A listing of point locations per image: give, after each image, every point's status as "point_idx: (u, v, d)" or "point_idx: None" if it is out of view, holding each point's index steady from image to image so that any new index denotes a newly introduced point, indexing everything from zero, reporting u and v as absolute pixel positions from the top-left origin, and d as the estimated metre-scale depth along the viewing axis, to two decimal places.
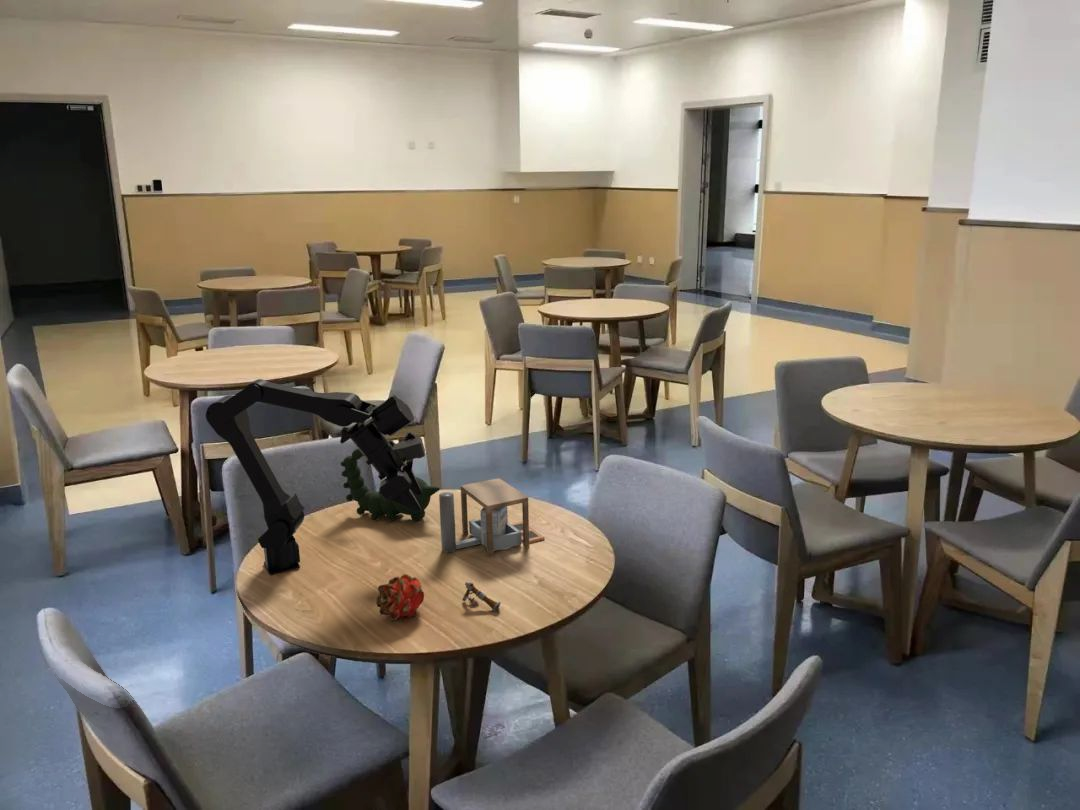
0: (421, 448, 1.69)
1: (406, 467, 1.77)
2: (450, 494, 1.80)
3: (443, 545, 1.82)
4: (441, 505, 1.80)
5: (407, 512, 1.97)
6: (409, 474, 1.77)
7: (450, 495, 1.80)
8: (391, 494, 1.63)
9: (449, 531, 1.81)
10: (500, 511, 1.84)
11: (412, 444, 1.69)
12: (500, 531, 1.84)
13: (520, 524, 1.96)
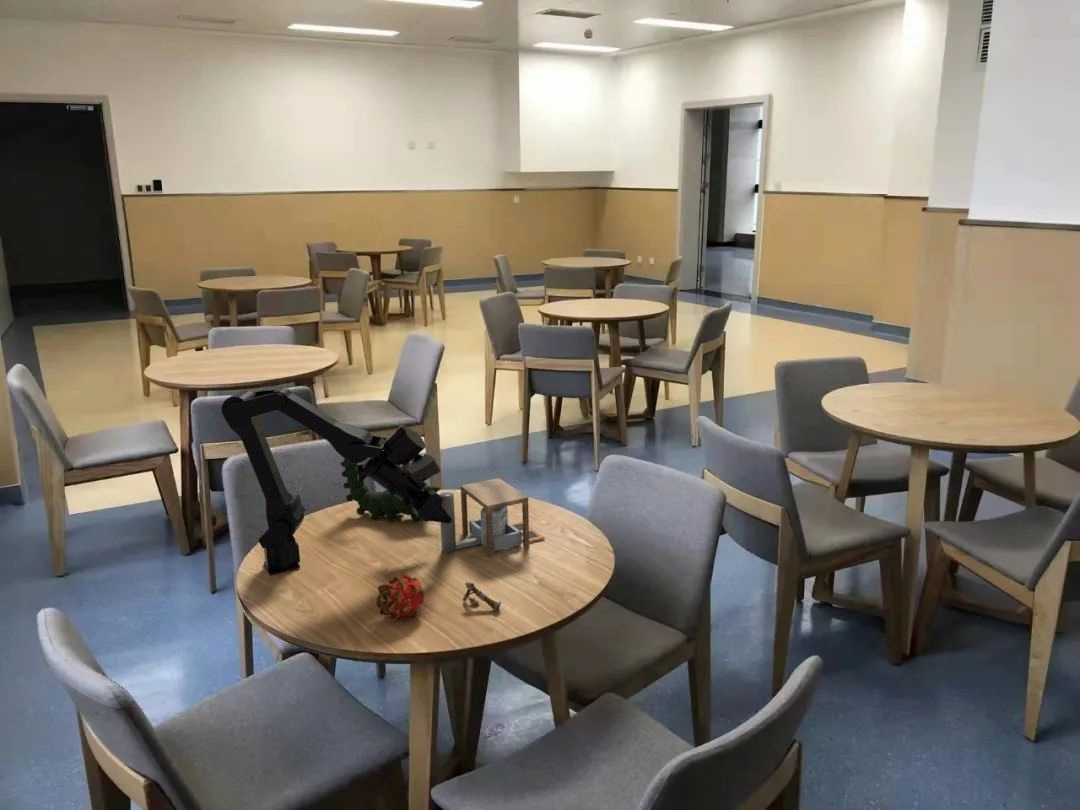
0: (436, 463, 1.75)
1: None
2: (450, 494, 1.80)
3: (443, 545, 1.82)
4: (441, 505, 1.80)
5: (407, 512, 1.97)
6: None
7: (450, 495, 1.80)
8: (430, 514, 1.69)
9: (449, 531, 1.81)
10: (500, 511, 1.84)
11: (427, 462, 1.74)
12: (500, 531, 1.84)
13: (520, 524, 1.96)
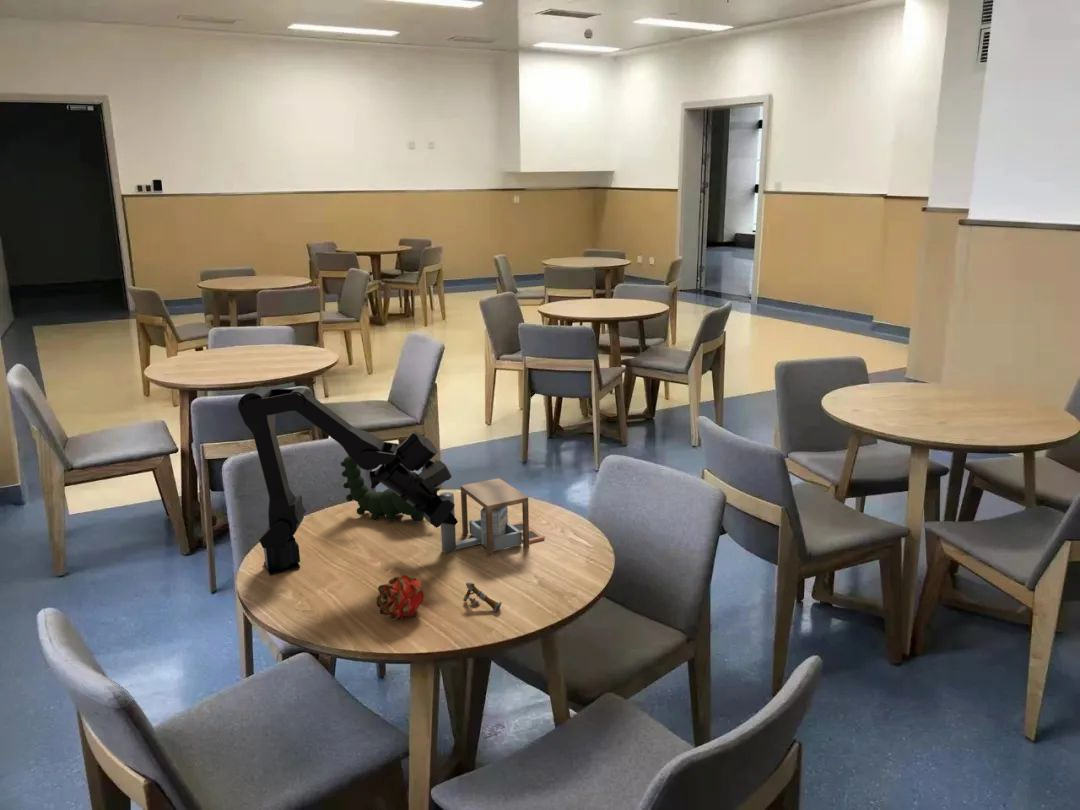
0: (448, 470, 1.77)
1: None
2: (450, 494, 1.80)
3: (443, 545, 1.82)
4: None
5: (407, 512, 1.97)
6: None
7: (450, 495, 1.80)
8: (442, 520, 1.70)
9: (449, 531, 1.81)
10: (500, 511, 1.84)
11: (439, 469, 1.76)
12: (500, 531, 1.84)
13: (520, 524, 1.96)
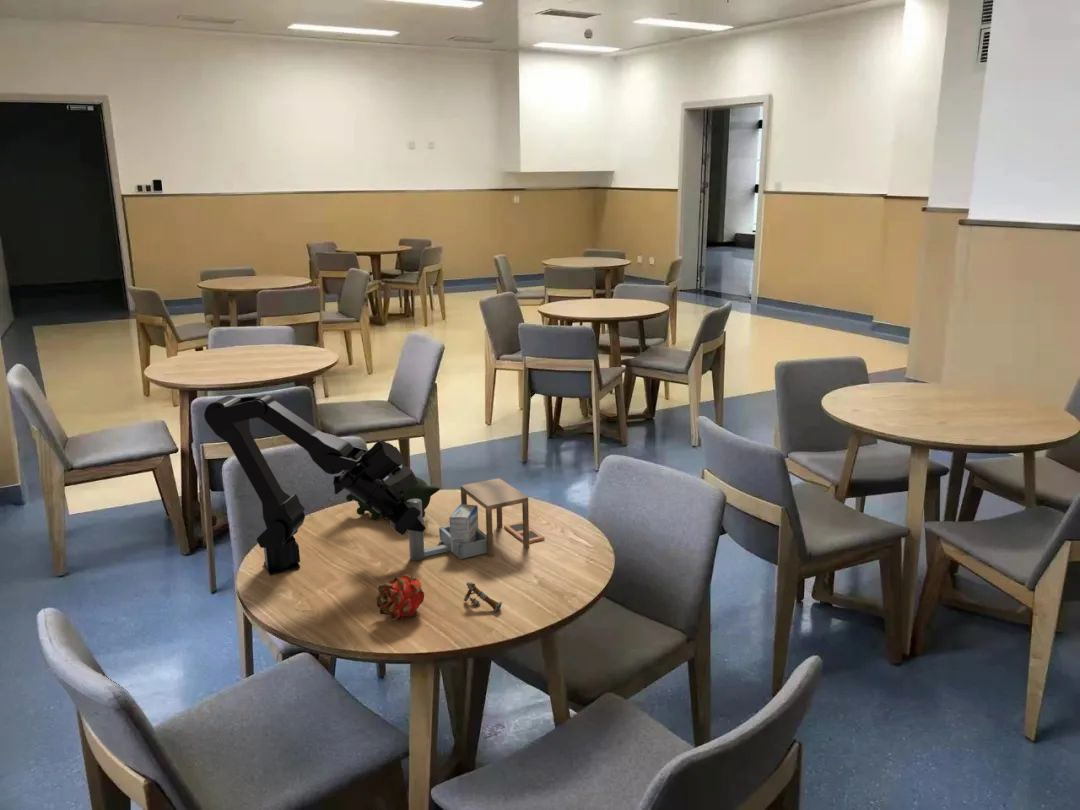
0: (414, 476, 1.73)
1: None
2: (418, 501, 1.77)
3: (411, 552, 1.78)
4: None
5: None
6: None
7: (418, 501, 1.76)
8: (408, 527, 1.67)
9: (417, 538, 1.77)
10: (469, 518, 1.80)
11: (405, 475, 1.73)
12: (470, 538, 1.81)
13: (520, 524, 1.96)
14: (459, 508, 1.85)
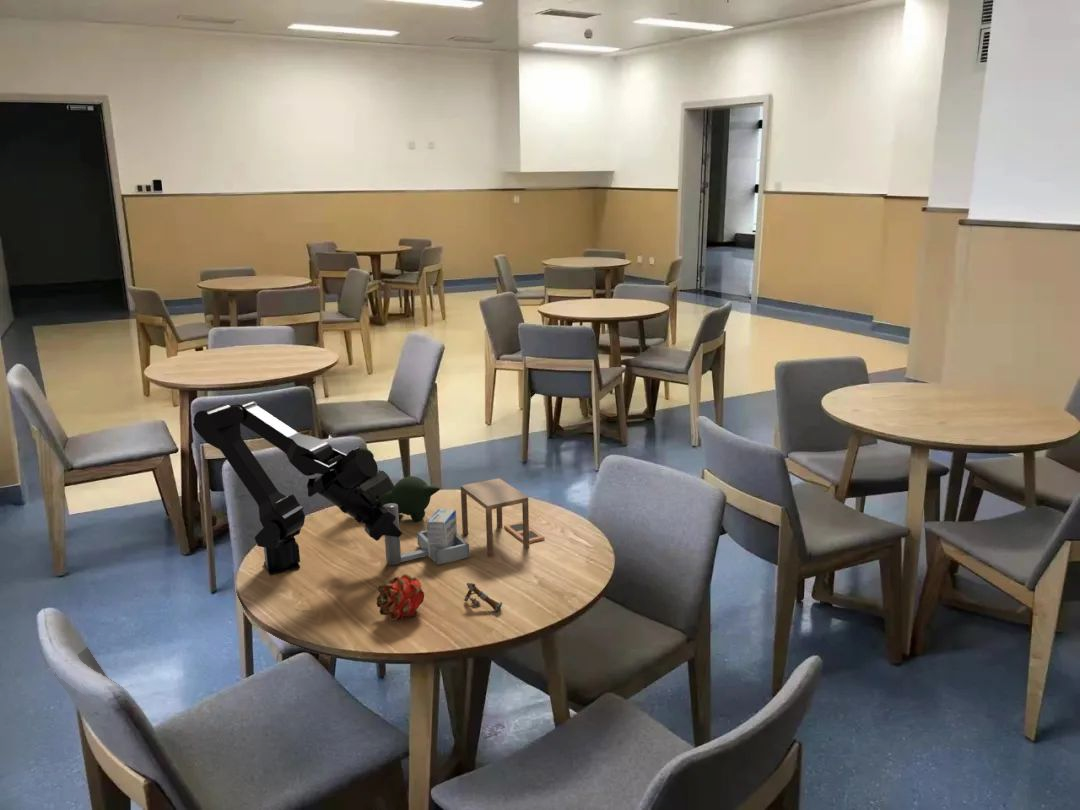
0: (390, 480, 1.71)
1: None
2: (394, 505, 1.74)
3: (387, 558, 1.76)
4: None
5: (407, 512, 1.97)
6: None
7: (394, 506, 1.74)
8: (382, 532, 1.64)
9: (393, 543, 1.75)
10: (447, 522, 1.78)
11: (381, 479, 1.70)
12: (447, 543, 1.79)
13: (520, 524, 1.96)
14: (437, 513, 1.82)
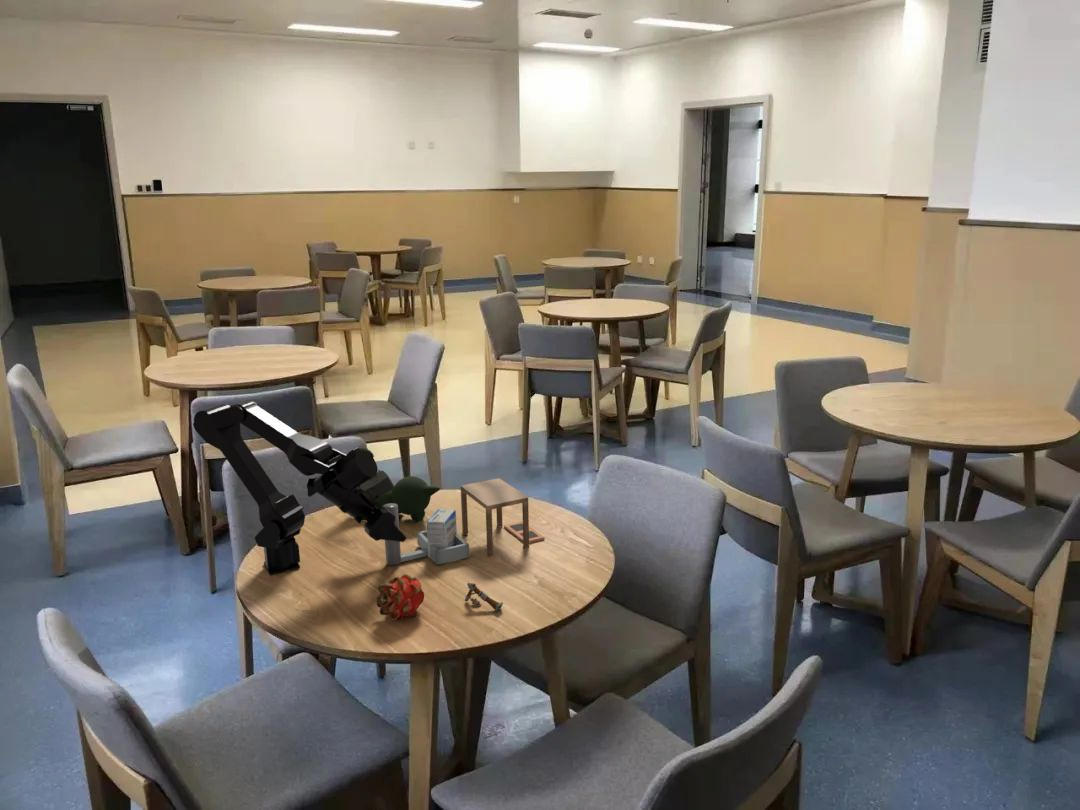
0: (390, 480, 1.71)
1: None
2: (394, 505, 1.74)
3: (387, 558, 1.76)
4: None
5: (407, 512, 1.97)
6: None
7: (394, 506, 1.74)
8: (382, 533, 1.64)
9: (393, 543, 1.75)
10: (447, 522, 1.78)
11: (380, 479, 1.70)
12: (447, 543, 1.79)
13: (520, 524, 1.96)
14: (437, 513, 1.82)
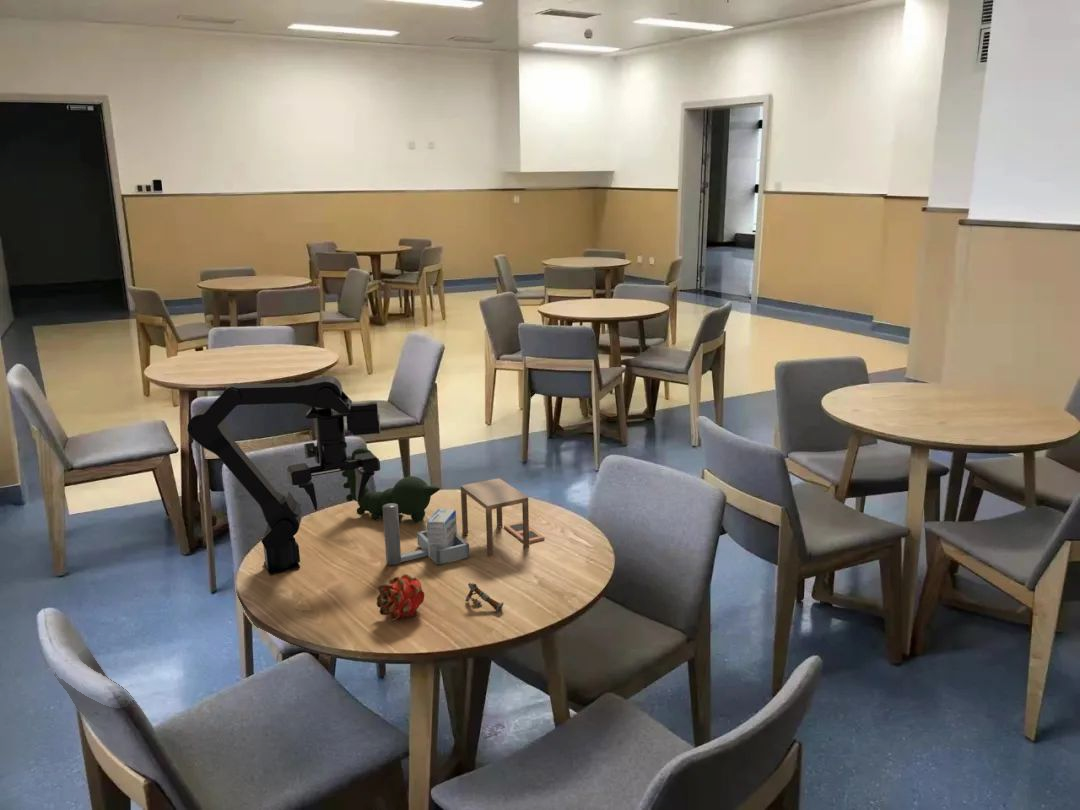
0: None
1: None
2: (394, 505, 1.74)
3: (387, 558, 1.76)
4: (384, 517, 1.74)
5: (407, 512, 1.97)
6: None
7: (394, 506, 1.74)
8: None
9: (393, 543, 1.75)
10: (447, 522, 1.78)
11: None
12: (447, 543, 1.79)
13: (520, 524, 1.96)
14: (437, 513, 1.82)
